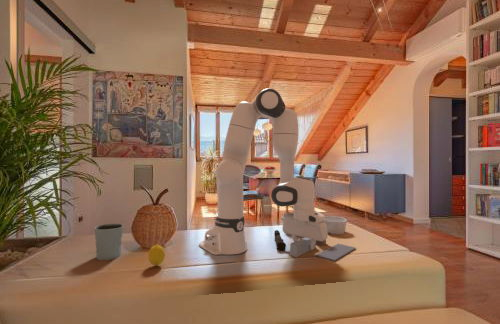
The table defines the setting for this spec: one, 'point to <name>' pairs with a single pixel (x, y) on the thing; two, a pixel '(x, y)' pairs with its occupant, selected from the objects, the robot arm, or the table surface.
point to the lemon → (156, 255)
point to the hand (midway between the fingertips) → (303, 247)
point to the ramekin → (335, 225)
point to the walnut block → (321, 242)
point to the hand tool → (279, 241)
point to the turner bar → (300, 247)
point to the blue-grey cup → (108, 241)
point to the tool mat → (335, 252)
